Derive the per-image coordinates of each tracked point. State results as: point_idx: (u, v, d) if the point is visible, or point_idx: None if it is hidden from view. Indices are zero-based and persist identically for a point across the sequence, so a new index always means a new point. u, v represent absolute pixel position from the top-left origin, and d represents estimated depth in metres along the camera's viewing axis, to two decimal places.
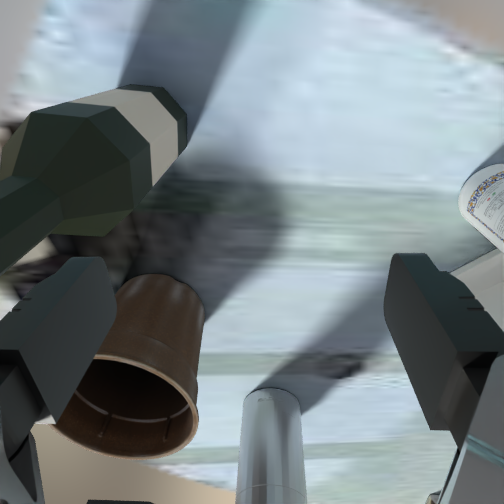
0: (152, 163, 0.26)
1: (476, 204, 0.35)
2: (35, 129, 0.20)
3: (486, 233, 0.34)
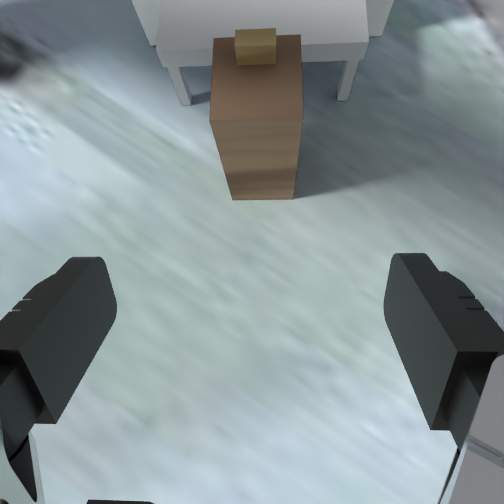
0: None
1: None
2: None
3: None
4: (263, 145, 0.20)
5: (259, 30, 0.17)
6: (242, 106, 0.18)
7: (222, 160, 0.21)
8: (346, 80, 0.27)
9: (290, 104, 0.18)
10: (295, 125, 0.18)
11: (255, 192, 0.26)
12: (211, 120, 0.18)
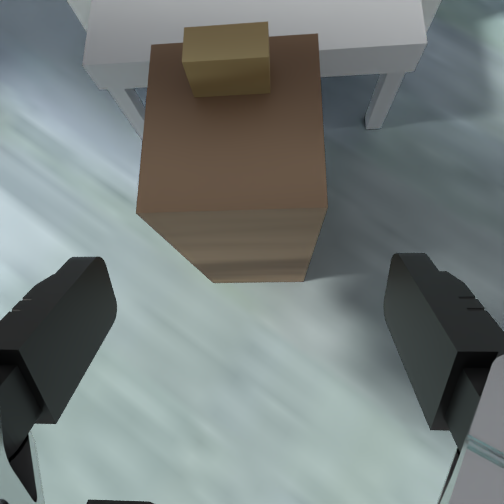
0: None
1: None
2: None
3: None
4: (250, 238, 0.11)
5: (233, 27, 0.08)
6: (201, 182, 0.09)
7: (183, 253, 0.12)
8: (381, 102, 0.18)
9: (301, 178, 0.09)
10: (310, 216, 0.09)
11: (246, 277, 0.17)
12: (140, 212, 0.09)
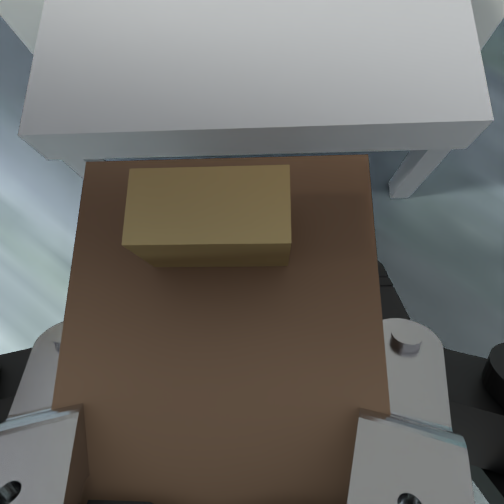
0: None
1: None
2: None
3: None
4: None
5: (223, 174, 0.04)
6: (162, 447, 0.05)
7: None
8: (415, 174, 0.14)
9: (347, 449, 0.05)
10: None
11: None
12: None
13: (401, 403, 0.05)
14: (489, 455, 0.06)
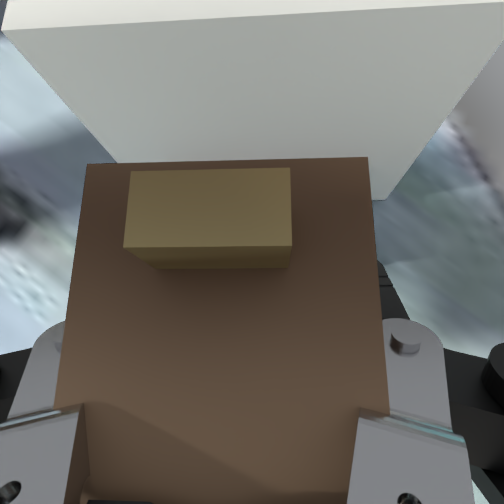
0: None
1: None
2: None
3: None
4: None
5: (224, 177, 0.04)
6: (163, 448, 0.05)
7: None
8: None
9: (346, 451, 0.05)
10: None
11: None
12: None
13: (401, 403, 0.05)
14: (489, 455, 0.06)
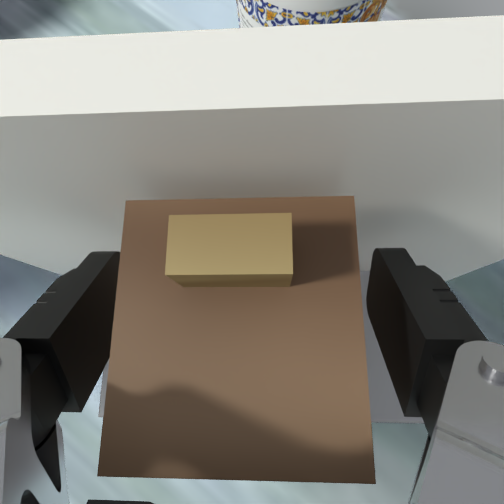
0: None
1: None
2: None
3: None
4: None
5: (241, 220, 0.06)
6: (192, 429, 0.06)
7: None
8: None
9: (335, 430, 0.06)
10: None
11: None
12: (104, 472, 0.06)
13: None
14: None
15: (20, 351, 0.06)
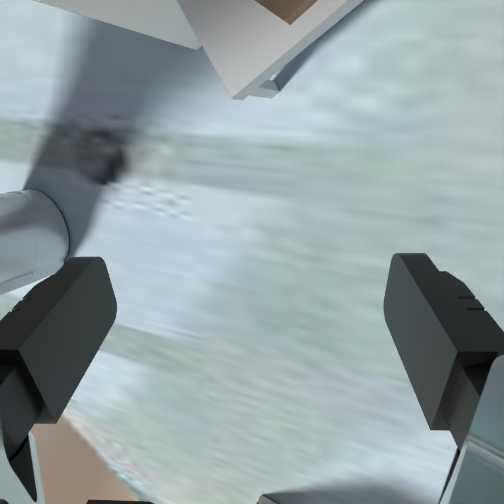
0: None
1: None
2: None
3: None
4: None
5: None
6: None
7: None
8: None
9: None
10: None
11: None
12: None
13: None
14: None
15: None
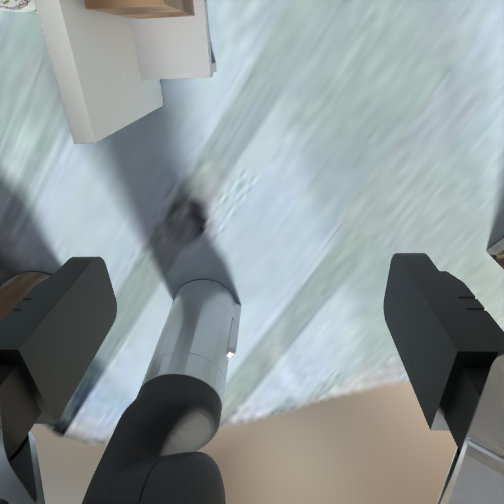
0: None
1: None
2: None
3: None
4: None
5: None
6: None
7: (178, 8, 0.25)
8: None
9: None
10: None
11: None
12: (163, 2, 0.22)
13: None
14: None
15: None
